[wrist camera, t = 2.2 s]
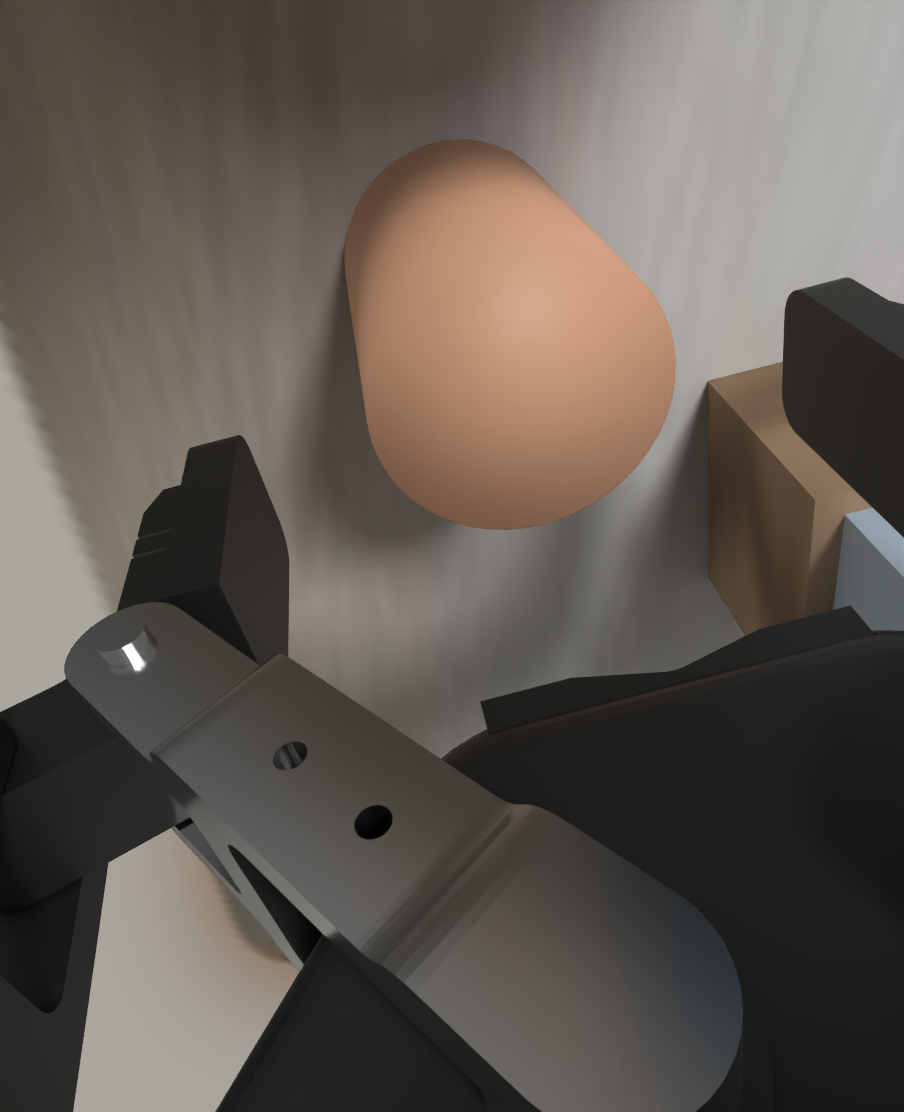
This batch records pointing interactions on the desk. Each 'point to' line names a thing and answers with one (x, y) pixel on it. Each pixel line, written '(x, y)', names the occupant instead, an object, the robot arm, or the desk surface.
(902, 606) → the blue block
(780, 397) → the walnut block
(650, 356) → the tan rounded piece
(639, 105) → the desk surface
